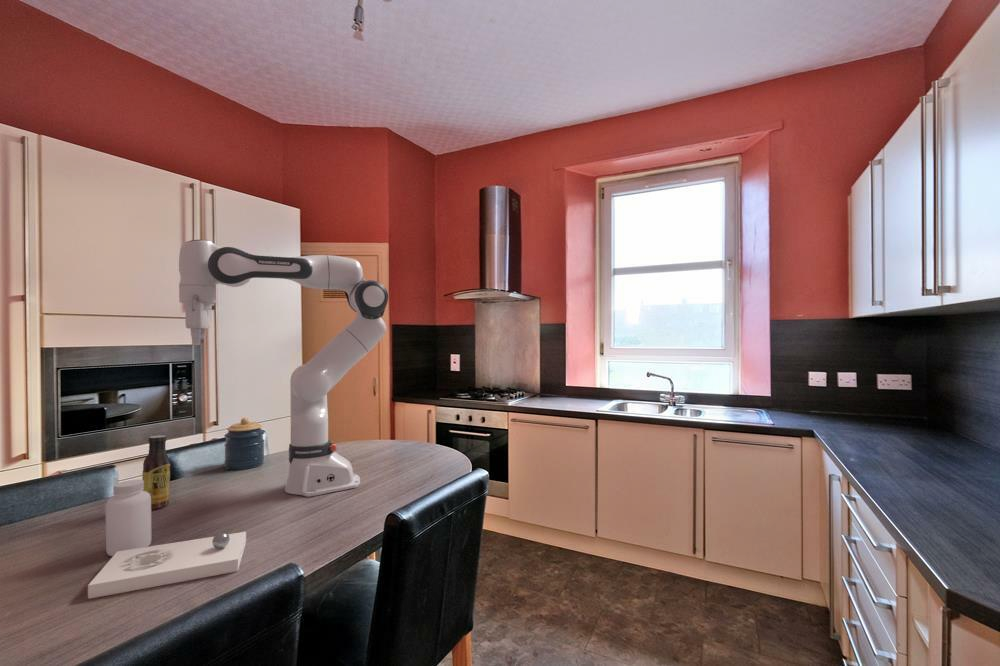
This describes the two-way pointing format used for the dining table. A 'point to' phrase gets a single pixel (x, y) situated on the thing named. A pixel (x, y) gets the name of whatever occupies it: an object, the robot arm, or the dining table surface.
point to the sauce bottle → (157, 472)
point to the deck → (167, 565)
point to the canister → (244, 445)
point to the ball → (220, 540)
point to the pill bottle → (128, 517)
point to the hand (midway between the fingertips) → (198, 345)
